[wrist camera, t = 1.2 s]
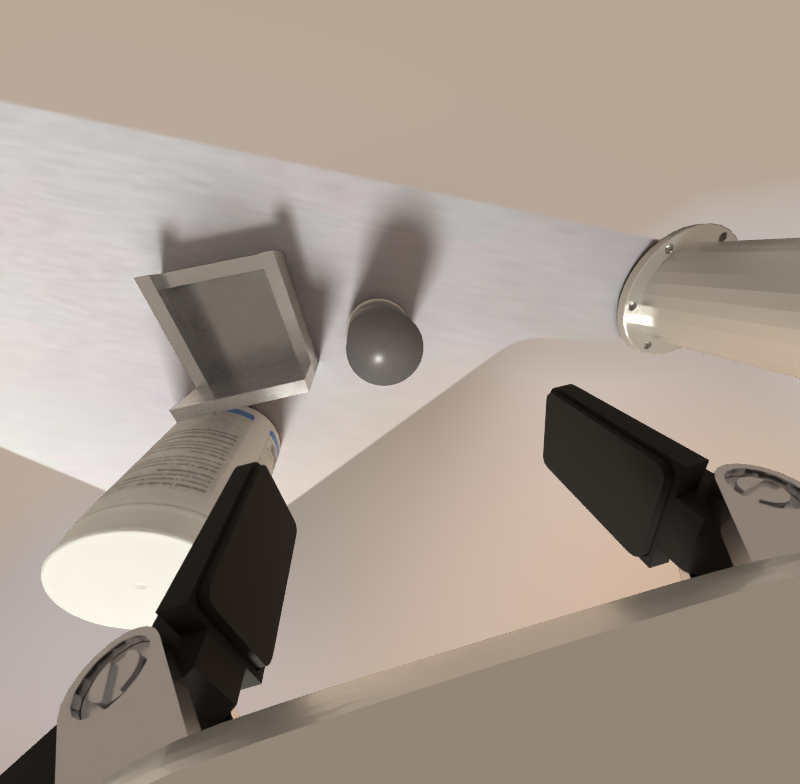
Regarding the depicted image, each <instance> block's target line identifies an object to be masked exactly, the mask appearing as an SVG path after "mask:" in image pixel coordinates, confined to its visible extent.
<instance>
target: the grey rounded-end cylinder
mask: <svg viewBox="0 0 800 784" xmlns="http://www.w3.org/2000/svg"><path fill="white" fill-rule="evenodd" d="M346 335H347V346H346V352H347V358H348V361H349V364H350V366H351V368H352V369H353V371H354V372H355V373H356V374H357V375H358V376H359V377H360V378H362V379H363V380H365V381H367V382H369V383H371V384H375V385H382V386H386V385H393V384H397V383H399V382H402V381H403V380H405V379H407V378H408V377H409V376H410V375H411V374H413V372H414V371H415V370H416V369H417V367H418V366H419V364H420V361H421V359H422V355H423V340H422V336H421V333H420V331H419V329H418V328H417V326H416V325H415V324H414V323H413V322H412V320H411V319H410V318H409V317H408V316H407V314H406V313H405V312H404V310H403V309H402V308H401V307H400V306H398V305H397V304H396V303H394V302H392V301H390V300H387V299H382V298H373V299H368V300H366V301H364V302H362V303H360V304H359V305H358V306H357V307H356V308H355V309H354V310H353V312H352V313H351V315H350V317H349V319H348V322H347V330H346Z"/></svg>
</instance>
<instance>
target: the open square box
mask: <svg viewBox="0 0 800 784" xmlns="http://www.w3.org/2000/svg"><path fill="white" fill-rule="evenodd" d="M134 279H135V281H136V283H137V285H138V286H139V288H140V290H141V292H142V293H143V295H144V297H145V299H146V300H147V302H148V304H149V306H150V308H151V309H152V311H153V313H154V315H155V316H156V318H157V320H158V322H159V323H160V325H161V327H162V329H163V331H164V332H165V334H166V336H167V338H168V339H169V341H170V343H171V345H172V346H173V348H174V350H175V352H176V354H177V355H178V357H179V359H180V361H181V362H182V364H183V366H184V368H185V369H186V371H187V373H188V375H189V377H190V378H191V380H192V382H193V384H194V385H195V387H196V389H195V390H193V391H192V392H191V393H190V394H188V395H187V396H186V397H185V398H184V399H182V400H181V401H180V402H179V403H178V404H176V405H175V406H174V407H173V408H171V409H170V410H169V411H170V412H171V414H172V415H173V417H174V418H175V420H176V422H179V421H184V420H188V419H192V418H197V417H201V416H205V415H210V414H214V413H218V412H223V411H227V410H232V409H236V408H240V407H245V406H249V405H253V404H258V403H262V402H266V401H271V400H275V399H280V398H284V397H288V396H293V395H297V394H301V393H306V392H309V390H310V387H311V384H312V381H313V378H314V375H315V372H316V369H317V366H318V363H319V360H318V357H317V354H316V351H315V348H314V345H313V342H312V339H311V336H310V333H309V329H308V326H307V323H306V320H305V317H304V314H303V311H302V308H301V305H300V302H299V299H298V296H297V293H296V290H295V287H294V284H293V281H292V278H291V275H290V272H289V269H288V266H287V263H286V260H285V257H284V254H283V251H274V250H272V251H267V252H262V253H259V254H256V255H251V256H246V257H241V258H236V259H231V260H226V261H221V262H216V263H211V264H206V265H201V266H196V267H191V268H186V269H181V270H176V271H171V272H166V273H161V274H155V275H146V276H141V277H136V278H134Z"/></svg>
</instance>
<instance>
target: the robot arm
mask: <svg viewBox="0 0 800 784" xmlns="http://www.w3.org/2000/svg"><path fill="white" fill-rule="evenodd" d="M617 323H618V328H619V332H620V334H621V336H622V339H623V340H624V341H625V342H626V343H627V345H629V346H630V347H632V348H633V349H635V350H638V351H641V352H644V353H649V354H664V353H668V352H672V351H675V350H677V349H679V348H682V347H684V348H687V349H691V350H695V351H698V352H702V353H706V354H710V355H713V356H717V357H721V358H725V359H728V360H732V361H736V362H740V363H744V364H748V365H751V366H755V367H759V368H762V369H766V370H770V371H774V372H777V373H782V374H785V375H789V376H793V377H796V378H800V238H786V239H765V240H746V241H738V240H737V238H736V236H735V235H734V234H733V233H732V232H731V231H730V230H729V229H728V228H726V227H724V226H722V225H717V224H697V225H692V226H687V227H684V228H681V229H679V230H677V231H674V232H673V233H671V234H669V235H668V236H666V237H664V238H663V239H661V240H660V241H659V242H658V243H656V244H655V245H654V246H653V247H652V248H651V249H649V251H648V252H647V253H646V254H645V255H644V256H643V257H642V258H641V259H640V261H639V262H638V263H637V265H636V266H635V268H634V269H633V271H632V272H631V274H630V276H629V278H628V279H627V281H626V283H625V285H624V288H623V291H622V293H621V296H620V300H619V305H618V310H617ZM543 459H544V462H545V464H546V466H547V467H548V468H549V469H550V470H551V471H552V472H553V474H554V475H555V476H556V477H557V478H558V479H559V480H560V481H561V482H562V483H563V484H564V485H565V486H566V487H567V488H568V489H569V490H570V491H571V492H572V493H573V495H575V497H576V498H578V499H579V501H580V502H581V503H582V504H583V505H584V506H585V507H586V508H587V509H588V510H589V511H590V512H591V513H592V514H593V515H594V516H595V518H596V519H597V520H598V521H599V522H600V523H601V524H602V525H603V526H604V527H605V528H606V529H607V530H608V531H609V532H610V533H611V534H612V535H613V536H614V538H615V539H616V540H618V542H619V543H620V544H621V545H622V546H623V547H624V548H625V549H626V550H627V551H628V552H629V553H630V554H632V555H633V556H637V557H639V558H640V559H641V560H642V561H643V562H644V563H645V564H646V565H647V566H648V567H649V568H651V567H654V566H658V565H661V564H664V563H668V562H669V559H671V561H672V562H674V563H675V564H676V565H677V566H678V568H679V572H680V576H681V581H680V582H676V583H673V584H669V585H666V586H663V587H659V588H656V589H653V590H649V591H646V592H643V593H639V594H636V595H633V596H629V597H626V598H622V599H619V600H616V601H612V602H609V603H606V604H603V605H599V606H596V607H592V608H589V609H585V610H582V611H579V612H576V613H572V614H569V615H566V616H562V617H559V618H555V619H552V620H549V621H546V622H542V623H539V624H536V625H532V626H529V627H526V628H522V629H519V630H516V631H513V632H509V633H506V634H503V635H499V636H496V637H493V638H490V639H486V640H483V641H480V642H476V643H473V644H470V645H467V646H463V647H460V648H457V649H453V650H451V651H447V652H444V653H441V654H437V655H434V656H431V657H427V658H424V659H421V660H418V661H414V662H411V663H408V664H405V665H402V666H398V667H395V668H392V669H389V670H385V671H382V672H379V673H376V674H372V675H369V676H366V677H363V678H360V679H356V680H353V681H350V682H347V683H343V684H340V685H337V686H334V687H330V688H327V689H324V690H321V691H318V692H314V693H311V694H308V695H305V696H302V697H299V698H296V699H293V700H289V701H286V702H284V703H280V704H277V705H274V706H271V707H269V708H265V709H262V710H259V711H257V712H253V713H250V714H247V715H244V716H242V717H240V716H239V714H238V711H237V709H236V705H237V701H238V697H239V693H240V690H242V689H245V688H248V687H252V686H255V685H259V684H261V683H262V679H263V673H264V669H265V666H267V665H269V664H270V662H271V659H272V656H273V651H274V647H275V642H276V637H277V632H278V626H279V621H280V616H281V611H282V606H283V601H284V595H285V590H286V585H287V580H288V575H289V569H290V564H291V559H292V554H293V549H294V544H295V538H296V533H297V531H296V530H297V529H296V523H295V521H294V519H293V517H292V515H291V513H290V511H289V509H288V507H287V505H286V503H285V501H284V499H283V497H282V496H281V494H280V492H279V490H278V488H277V486H276V484H275V482H274V480H273V478H272V476H271V474H270V472H269V470H268V468H267V467H266V466H265V465H260V464H259V463H258V462H252V463H248V464H244V465H240V466H237V467H236V468H235V469H234V471H233V472H232V474H231V476H230V478H229V480H228V481H227V483H226V485H225V487H224V489H223V490H222V492H221V494H220V496H219V498H218V500H217V501H216V503H215V505H214V507H213V509H212V510H211V512H210V514H209V516H208V518H207V520H206V521H205V523H204V525H203V527H202V529H201V530H200V532H199V534H198V536H197V538H196V539H195V541H194V543H193V545H192V547H191V549H190V550H189V552H188V554H187V556H186V558H185V559H184V561H183V563H182V565H181V567H180V569H179V570H178V572H177V574H176V576H175V578H174V579H173V581H172V583H171V585H170V587H169V588H168V590H167V592H166V594H165V596H164V598H163V599H162V601H161V603H160V605H159V607H158V608H157V610H156V612H155V613H156V614H157V615H158V616H157V617H156V619H155V621H154V623H153V625H152V627H150V626H144V627H139V628H135V629H133V630H131V631H129V632H127V633H125V634H123V635H122V636H120V637H119V638H117V639H116V640H114V641H113V642H111V643H110V644H109V645H108V646H106V647H105V648H104V649H103V650H102V651H101V652H100V653H98V654H97V655H96V656H95V657H94V658H93V659H92V660H91V661H90V663H89V664H88V665H87V666H86V667H85V668H84V669H83V670H82V672H81V673H80V674H79V675H78V677H77V678H76V680H75V681H74V682H73V684H72V685H71V687H70V688H69V690H68V692H67V694H66V696H65V698H64V700H63V702H62V704H61V706H60V710H59V714H58V719H57V725H56V726H55V727H54V728H53V729H51V730H50V731H49V732H48V733H47V734H46V735H45V736H44V737H42V739H40V740H39V741H38V742H37V743H36V744H35V745H34V746H32V747H31V748H30V749H29V750H28V751H27V752H26V753H25V754H24V755H22V756H21V757H20V758H19V759H18V760H17V761H16V762H15V763H14V764H13V765H11V766H10V767H9V768H8V769H7V770H6V771H5V772H4V773H2V774H1V775H0V784H800V482H799V481H797V480H795V479H793V478H791V477H788V476H786V475H784V474H782V473H779V472H776V471H772V470H770V469H767V468H763V467H758V466H753V465H747V464H726V465H723V466H721V467H718V468H717V470H716V471H715V472H714V473H712V472H710V471H708V470H707V469H706V467H707V464H708V461H709V460H708V459H706V458H704V457H702V456H701V455H698V454H697V453H695V452H693V451H691V450H689V449H688V448H686V447H684V446H683V445H681V444H679V443H677V442H675V441H674V440H672V439H670V438H668V437H666V436H665V435H663V434H661V433H659V432H657V431H656V430H654V429H652V428H650V427H648V426H647V425H645V424H643V423H641V422H639V421H638V420H636V419H634V418H632V417H631V416H629V415H627V414H625V413H623V412H621V411H620V410H618V409H616V408H614V407H613V406H611V405H609V404H607V403H605V402H604V401H602V400H600V399H598V398H596V397H595V396H593V395H591V394H589V393H587V392H586V391H584V390H582V389H580V388H579V387H577V386H575V385H572V384H569V385H565V386H560V387H556V388H553V389H552V390H551V392H550V394H549V395H548V396H547V401H546V418H545V435H544V451H543Z"/></svg>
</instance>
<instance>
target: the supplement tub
mask: <svg viewBox="0 0 800 784" xmlns="http://www.w3.org/2000/svg"><path fill="white" fill-rule="evenodd" d="M279 452H280V439H279V436H278V433H277V431H276V429H275V427H274V426H273V424H272V423H271V422H270V421H269V420H268V419H267V418H266V417H265V416H264V415H263V414H261V413H260V412H258V411H256V410H254V409H252V408H250V407H247V406H245V407H240V408H236V409H232V410H227V411H223V412H218V413H214V414H210V415H205V416H201V417H197V418H192V419H188V420H184V421H179V422H177V423H176V424H175V425H174V426H173V427H172V428H171V429H170V430H169V431H168V432H167V433H166V434H165V435H164V436H163V437H162V438H161V439H160V440H159V441H158V442H157V443H156V444H155V445H154V446H153V447H152V448H151V449H150V450H149V451H148V452H147V453H146V454H145V455H144V456H143V457H142V458H141V459H140V460H139V461H137V462H136V463H135V464H134V465H133V466H132V467H131V468H130V469H129V470H128V471H127V472H126V473H125V474H124V475H123V476H122V477H121V478H120V479H119V480H118V481H117V482H116V483H115V484H114V485H113V486H112V487H111V488H110V489H109V490H108V491H107V492H106V493H105V494H104V495H103V496H102V497H101V498H100V499H99V500H98V501H97V502H96V503H95V504H94V505H93V506H92V507H91V508H90V509H89V510H88V511H87V512H86V513H85V514H84V515H83V516H82V517H81V518H80V519H79V520H78V521H77V522H76V523H75V524H74V525H73V527H72V528H71V529H70V530H69V531H68V532H67V533H66V535H65V537H64V538H63V540H62V541H61V542H60V543H59V544H58V545H57V546H56V547H55V548H54V549H53V551H51V553H50V554H49V555H48V556H47V558H46V559H45V561H44V563H43V566H42V569H41V581H42V585H43V587H44V589H45V591H46V593H47V594H48V596H49V597H50V598H51V599H52V600H53V601H54V602H55V603H56V604H57V605H58V606H60V607H61V608H63V609H64V610H66V611H67V612H69V613H71V614H73V615H74V616H77V617H79V618H82V619H84V620H87V621H90V622H93V623H96V624H100V625H104V626H109V627H116V628H123V629H135V628H139V627H144V626H150V627H152V625H153V623H154V621H155V619H156V617H157V616H158V615H157V614H156V613H155V612H156V610H157V608H158V607H159V605H160V603H161V601H162V599H163V598H164V596H165V594H166V592H167V590H168V588H169V587H170V585H171V583H172V581H173V579H174V578H175V576H176V574H177V572H178V570H179V569H180V567H181V565H182V563H183V561H184V559H185V558H186V556H187V554H188V552H189V550H190V549H191V547H192V545H193V543H194V541H195V539H196V538H197V536H198V534H199V532H200V530H201V529H202V527H203V525H204V523H205V521H206V520H207V518H208V516H209V514H210V512H211V510H212V509H213V507H214V505H215V503H216V501H217V500H218V498H219V496H220V494H221V492H222V490H223V489H224V487H225V485H226V483H227V481H228V480H229V478H230V476H231V474H232V472H233V471H234V469H235V468H236V467H237V466H240V465H244V464H248V463H252V462H258V463H259V464H260V465H265V466H266V467H267V468H268V470H269V472H270V474H271V476H272V473H273V470H274V467H275V464H276V461H277V458H278V455H279Z"/></svg>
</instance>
